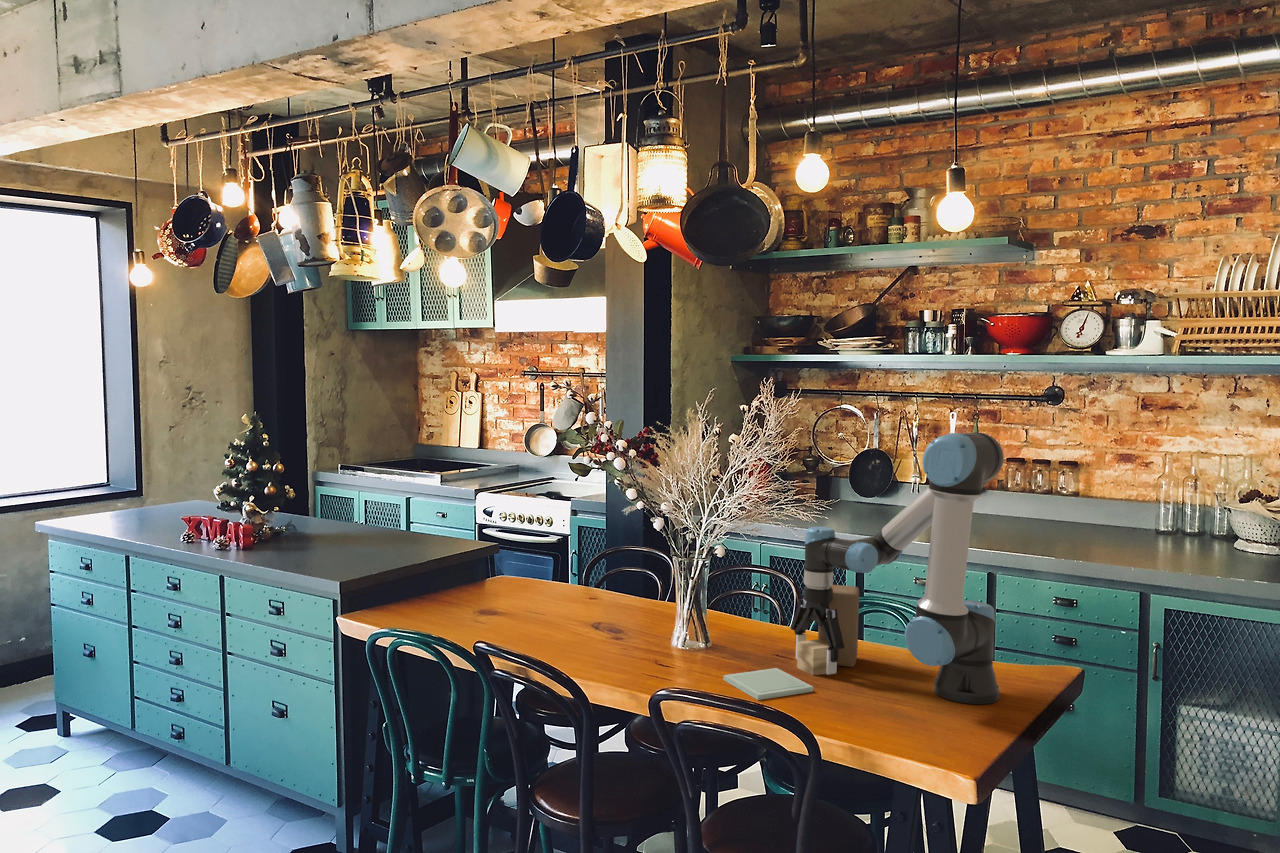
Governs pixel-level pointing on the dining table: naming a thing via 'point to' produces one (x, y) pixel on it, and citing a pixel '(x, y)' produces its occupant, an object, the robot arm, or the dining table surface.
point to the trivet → (767, 683)
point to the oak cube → (812, 656)
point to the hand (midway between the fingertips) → (815, 666)
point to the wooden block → (845, 622)
